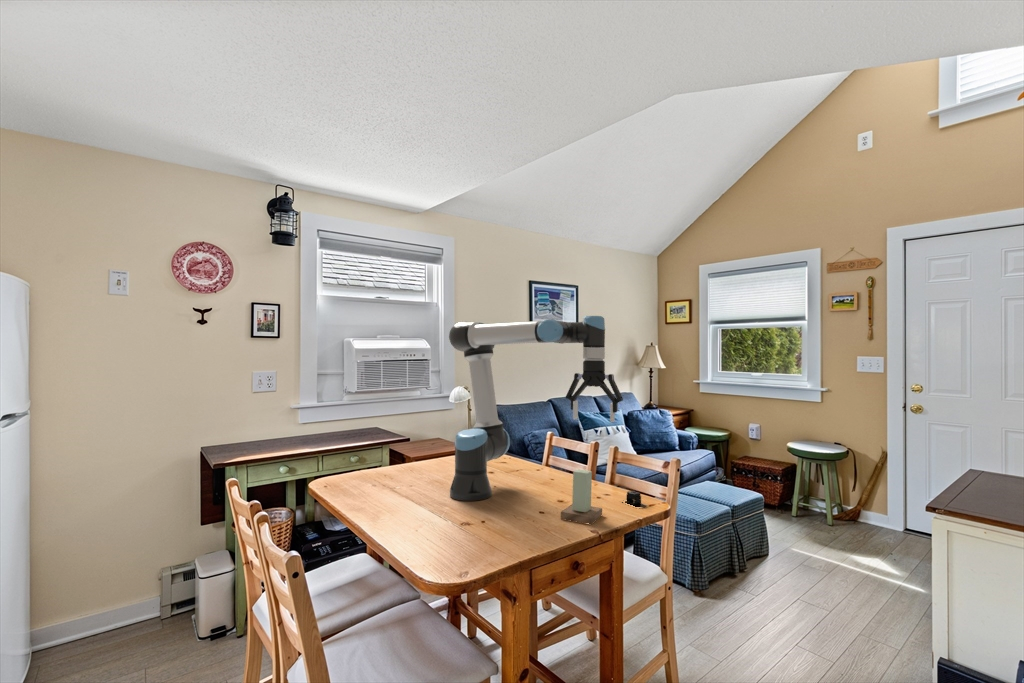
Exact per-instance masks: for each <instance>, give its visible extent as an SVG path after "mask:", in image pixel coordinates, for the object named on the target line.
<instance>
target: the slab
mask: <svg viewBox="0 0 1024 683" xmlns="http://www.w3.org/2000/svg"><path fill="white" fill-rule="evenodd" d="M601 515H602V516H603V508H602V507H598V506H593V505H591V510H589V511H587V512H580V511H575V510H572V503H571V504H570V505H569V506H567V507H565V508H564V509H563V510H561V511H560V520H562V519H566V520H565V521H567V520H571V521H570V522H573V521H577V522H576V523H578V522H583V523H589V524H592V523H593V522H594V521H595V520H596V521H598V520H599V519H600V518H601V517H602V516H601ZM600 516H601V517H600ZM599 517H600V518H599ZM598 518H599V519H598ZM597 519H598V520H597ZM596 521H595V522H596ZM595 522H594V523H595ZM583 523H582V524H583ZM594 523H593V524H594ZM593 524H592V525H593Z"/></svg>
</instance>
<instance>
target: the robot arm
mask: <svg viewBox="0 0 1024 683" xmlns="http://www.w3.org/2000/svg"><path fill="white" fill-rule="evenodd" d="M582 319H583V320H582V321H578V322H577V321H574V322H573V321H572V322H571V321H570V322H568V321H561V320H556V319H554V318H553V319H550V318H549V319H543V320H534V321H516V322H501V323H486V324H485V323H483V322H474V321H473V322H471V321H466V320H465V321H459V322H457V323H455V324H454V325H453V326H452V327H451V328H450V329H449V330H450V331H449V332H448V340H449V343H450V345H451V346H452V347H453V348H454V349H455V350H457V351H460V352H463V355H464V359H465V360H466V361H467V362H468V366H469V373H470V379H471V380H470V381H471V388H472V397H473V403H474V412H475V419H476V420H475V424H474V425H473V426H472V427H473V428H469V429H463V430H460V431H458V432H457V434H456V435H455V439H454V440H455V442H454V477H453V479H452V482H451V484H450V489H449V496H450V498H452V499H454V500H457V501H463V502H475V501H482V500H487V499H488V498H490V497H491V496H492V487H491V483H490V480H489V477H488V472H487V471H488V468H487V467H488V462H489V461H493V460H497V459H500V458H501V457H502V456H504V455H505V454H506V453H507V452H508V450H509V448H510V446H511V438H510V435H509V432H508V431H506V429H505V428H504V423H503V422H502V421H501V420H500V419H499V416H498V408H497V400H496V399H497V398H496V393H495V385H494V377H493V371H492V369H493V368H492V361H491V359H492V357H493V356H494V348H495V346H496V345H513V344H514V345H516V344H517V345H518V344H519V345H520V344H539V343H540V344H541V343H543V344H545V343H554V344H582V348H583V349H582V351H583V352H582V353H583V354H582V358H583V359H584V360H583V362H582V371H583V372H582V373H579V372H575V373H574V375H573V380H572V382H571V385H570V386H569V389H568V391H567V393H566V395H565V399H566V400H570V410H571V411H572V420H574V421H575V420H578V419H579V400H577V399H578V398H579V397H580V395H581V394H582V393H583V392H584V390H585V389H586V388H587V387H596V388H597V387H599V388H601V389H602V391H603V392H604V394H605V395H606V396H607V397H608V399H610V401H611V403H609V404H610V408H609V411H610V412H609V423H615V422H616V421H615V420H616V414H617V413H618V408H619V407H618V403H620V402H623V401H624V397H623V396H622V394H621V391H620V389H619V387H618V385H617V383H616V380H615V375H614V374H613V373H610V374H606V373H605V372H606V371H605V370H606V368H605V367H606V366H605V365H606V364H605V363H606V361H605V360H604V359H605V357H606V356H605V353H606V352H605V349H606V348H605V347H606V346H605V344H606V340H605V339H606V323H605V318H604V316H601V315H586V316H583V318H582ZM581 379H582V380H583V382H582V383H581V384H580V386H579V387H578V384H579V381H580V380H581ZM605 381H608V383H609V385H610V387H611V389H612V390H610V388H609V387H608V386H607V384H606V383H605ZM577 387H578V388H577ZM576 389H577V390H576ZM612 391H613V392H612ZM613 393H614V394H613Z"/></svg>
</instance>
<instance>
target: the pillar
mask: <svg viewBox="0 0 1024 683" xmlns="http://www.w3.org/2000/svg"><path fill="white" fill-rule="evenodd" d="M572 476H573V477H572V501H571V502H572V503H571V504H572V510H575V511H580V512H587V511H589V510H591V506H592V483H593V478H592V476H593V471H592V470H587V469H586V470H585V469H576V470H574V471H573V472H572Z"/></svg>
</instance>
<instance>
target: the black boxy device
mask: <svg viewBox="0 0 1024 683" xmlns="http://www.w3.org/2000/svg"><path fill="white" fill-rule="evenodd" d="M626 493H627V494H626V500H627V501H625V503H627V504H630V505H633V506H635V507H645V508H647V507H646V506H648V505H647V504H644V503H642V495H641V492H638V491H635V490H631V491H630V490H629V491H627V492H626Z"/></svg>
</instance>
